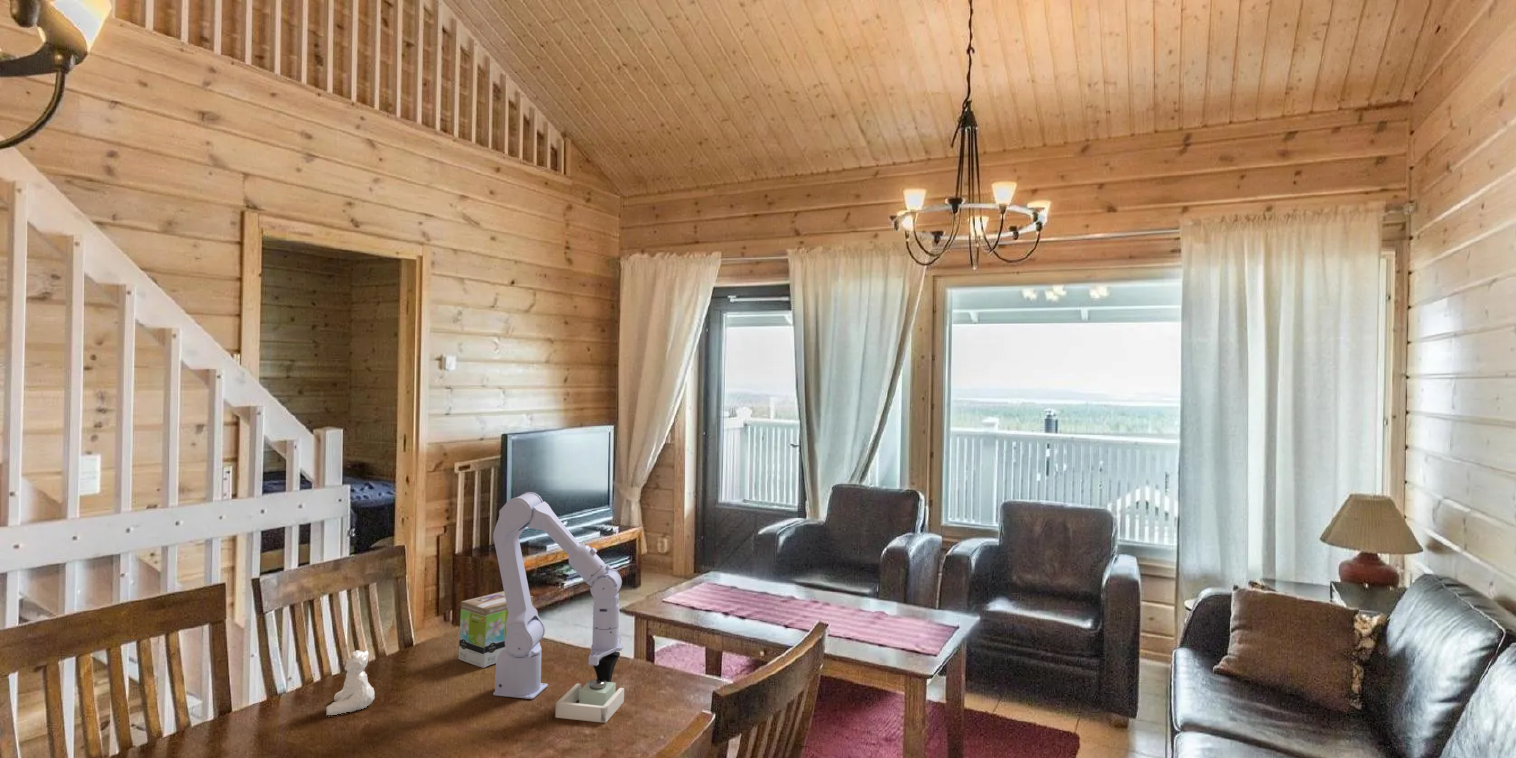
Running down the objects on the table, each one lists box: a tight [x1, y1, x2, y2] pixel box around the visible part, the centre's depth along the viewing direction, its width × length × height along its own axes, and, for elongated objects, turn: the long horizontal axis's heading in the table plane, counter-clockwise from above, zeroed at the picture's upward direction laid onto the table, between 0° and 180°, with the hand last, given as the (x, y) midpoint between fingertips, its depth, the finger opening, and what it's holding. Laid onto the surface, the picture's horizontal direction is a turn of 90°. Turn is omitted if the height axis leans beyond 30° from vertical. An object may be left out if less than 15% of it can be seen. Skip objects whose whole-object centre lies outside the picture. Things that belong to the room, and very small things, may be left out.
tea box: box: [458, 590, 534, 669], centre depth 205 cm, size 15×10×15 cm
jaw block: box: [578, 678, 617, 706], centre depth 178 cm, size 6×6×4 cm
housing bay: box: [554, 683, 625, 724], centre depth 174 cm, size 11×11×3 cm
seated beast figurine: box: [325, 649, 376, 716], centre depth 173 cm, size 10×9×12 cm
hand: (604, 686), depth 182 cm, fingers closed
